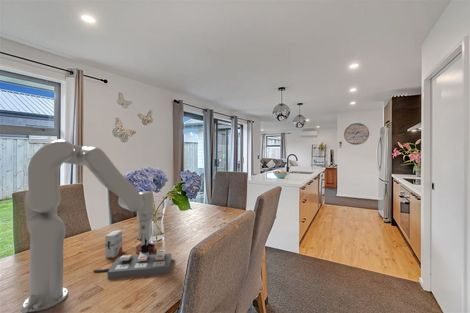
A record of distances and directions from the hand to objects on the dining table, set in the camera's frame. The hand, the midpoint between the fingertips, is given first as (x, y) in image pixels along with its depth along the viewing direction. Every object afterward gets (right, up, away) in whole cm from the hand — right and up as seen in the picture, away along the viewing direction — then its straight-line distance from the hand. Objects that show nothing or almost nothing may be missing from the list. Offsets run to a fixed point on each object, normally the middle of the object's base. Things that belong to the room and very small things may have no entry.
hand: (145, 252), depth 109 cm
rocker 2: (0, -1, -3) cm, 3 cm away
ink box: (-21, -5, +9) cm, 23 cm away
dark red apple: (-5, -6, +13) cm, 16 cm away
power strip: (-3, -6, -6) cm, 9 cm away
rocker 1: (-8, -1, -4) cm, 9 cm away
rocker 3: (+8, -1, -1) cm, 8 cm away
